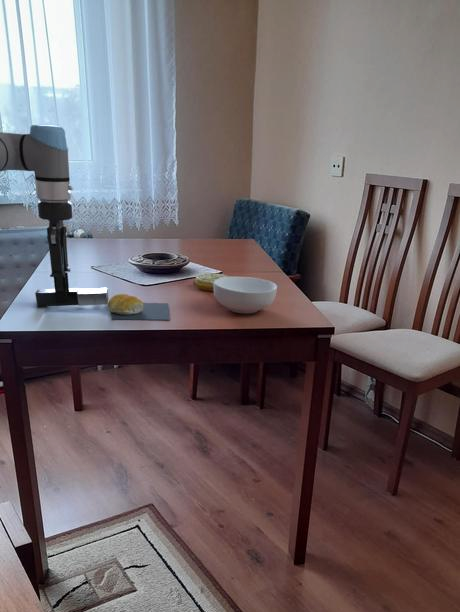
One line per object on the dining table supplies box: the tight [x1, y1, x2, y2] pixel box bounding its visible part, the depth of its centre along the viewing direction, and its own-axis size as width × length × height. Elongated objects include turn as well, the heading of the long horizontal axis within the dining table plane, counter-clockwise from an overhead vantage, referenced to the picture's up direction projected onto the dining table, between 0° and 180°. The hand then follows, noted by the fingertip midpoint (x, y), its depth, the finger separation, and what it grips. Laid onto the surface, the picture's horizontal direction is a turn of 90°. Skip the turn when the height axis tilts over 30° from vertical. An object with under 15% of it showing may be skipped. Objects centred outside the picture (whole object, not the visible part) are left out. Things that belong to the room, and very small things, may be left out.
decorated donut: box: [194, 272, 229, 292], centre depth 165 cm, size 10×11×4 cm
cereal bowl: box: [213, 276, 278, 315], centre depth 146 cm, size 17×17×7 cm
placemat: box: [111, 302, 171, 321], centre depth 141 cm, size 14×14×1 cm
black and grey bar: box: [34, 287, 110, 308], centre depth 137 cm, size 17×4×4 cm, turn 97°
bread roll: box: [107, 293, 144, 315], centre depth 140 cm, size 8×9×4 cm
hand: (62, 300), depth 138 cm, fingers closed on black and grey bar, 3 cm apart
